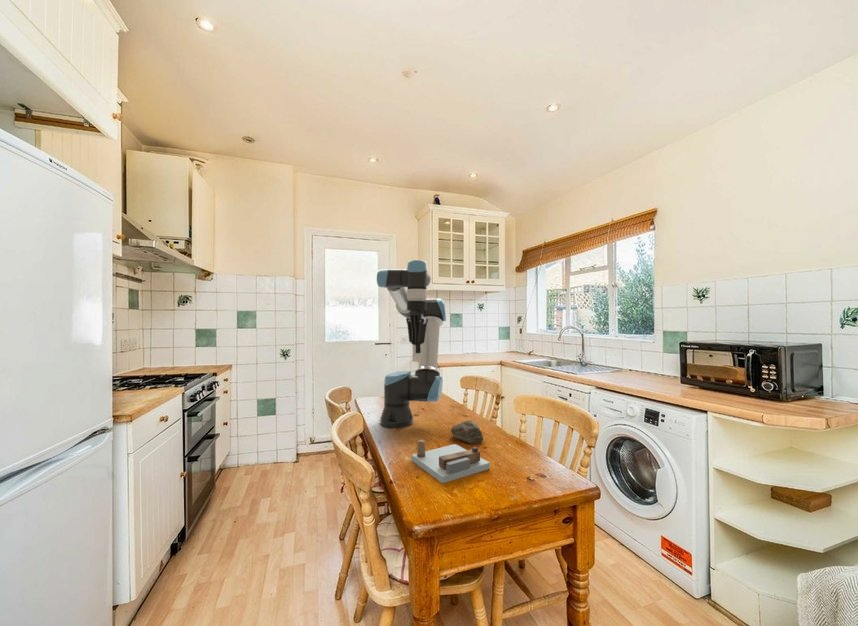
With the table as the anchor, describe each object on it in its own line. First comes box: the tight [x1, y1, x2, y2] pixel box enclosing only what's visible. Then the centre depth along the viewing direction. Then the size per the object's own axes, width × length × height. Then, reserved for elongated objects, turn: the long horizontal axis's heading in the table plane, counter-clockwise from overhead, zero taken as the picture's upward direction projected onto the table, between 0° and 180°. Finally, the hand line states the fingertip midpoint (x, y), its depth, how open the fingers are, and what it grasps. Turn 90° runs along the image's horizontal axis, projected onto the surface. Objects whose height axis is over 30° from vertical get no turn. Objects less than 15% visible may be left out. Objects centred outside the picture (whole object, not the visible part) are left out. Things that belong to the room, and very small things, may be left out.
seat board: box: [410, 439, 491, 484], centre depth 117 cm, size 19×19×7 cm
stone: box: [450, 420, 484, 445], centre depth 141 cm, size 14×10×10 cm
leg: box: [439, 446, 481, 470], centre depth 112 cm, size 14×3×4 cm, turn 118°
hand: (416, 361), depth 134 cm, fingers closed
